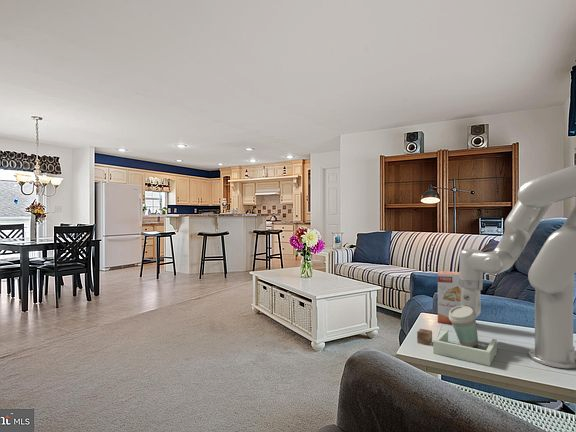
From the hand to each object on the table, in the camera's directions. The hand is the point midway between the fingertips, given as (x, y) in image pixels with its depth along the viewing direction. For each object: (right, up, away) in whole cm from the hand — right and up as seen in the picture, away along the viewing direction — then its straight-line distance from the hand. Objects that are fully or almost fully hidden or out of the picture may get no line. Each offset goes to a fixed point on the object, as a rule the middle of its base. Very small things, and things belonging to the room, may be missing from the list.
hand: (468, 334), depth 128 cm
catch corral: (-7, -2, -11) cm, 13 cm away
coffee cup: (-2, -1, -4) cm, 5 cm away
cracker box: (+5, -2, +20) cm, 21 cm away
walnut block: (-16, -2, -2) cm, 17 cm away
